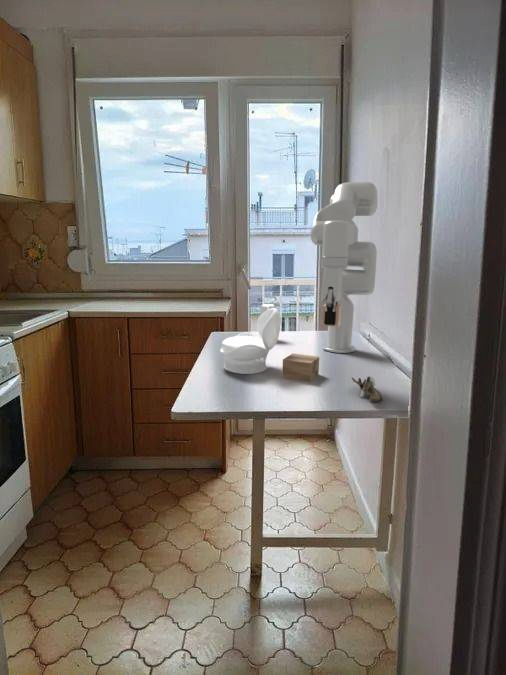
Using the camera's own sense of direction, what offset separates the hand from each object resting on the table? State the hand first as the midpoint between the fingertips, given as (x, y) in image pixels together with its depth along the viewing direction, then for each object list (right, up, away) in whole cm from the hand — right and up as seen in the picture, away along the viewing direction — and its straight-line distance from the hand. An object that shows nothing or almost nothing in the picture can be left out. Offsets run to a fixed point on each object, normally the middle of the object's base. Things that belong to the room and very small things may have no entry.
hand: (331, 322), depth 137 cm
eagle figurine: (+7, -21, -15) cm, 27 cm away
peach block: (0, -1, 0) cm, 1 cm away
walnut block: (-9, -17, +4) cm, 20 cm away
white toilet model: (-25, -15, +13) cm, 32 cm away
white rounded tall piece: (-18, -6, +57) cm, 60 cm away
